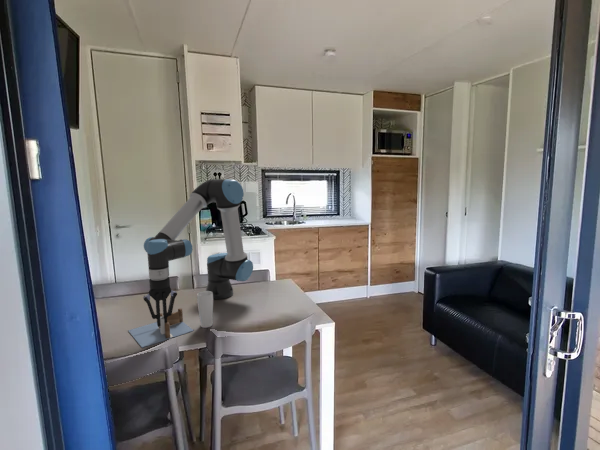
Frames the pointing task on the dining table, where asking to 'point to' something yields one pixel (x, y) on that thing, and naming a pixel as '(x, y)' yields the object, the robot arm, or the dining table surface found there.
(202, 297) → the drinking glass
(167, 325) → the fence panel
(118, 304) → the dining table surface
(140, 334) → the mat
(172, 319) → the fence fixed
